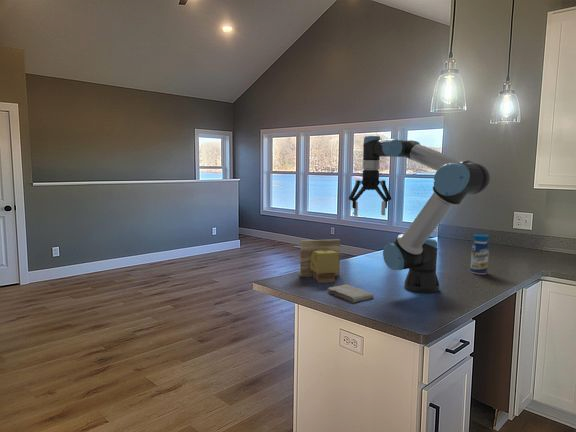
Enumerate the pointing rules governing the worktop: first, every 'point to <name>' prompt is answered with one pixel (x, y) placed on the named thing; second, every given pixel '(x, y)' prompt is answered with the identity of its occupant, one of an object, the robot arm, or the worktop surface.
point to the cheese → (324, 261)
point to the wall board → (305, 258)
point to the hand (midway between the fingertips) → (369, 215)
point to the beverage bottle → (479, 254)
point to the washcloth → (350, 293)
